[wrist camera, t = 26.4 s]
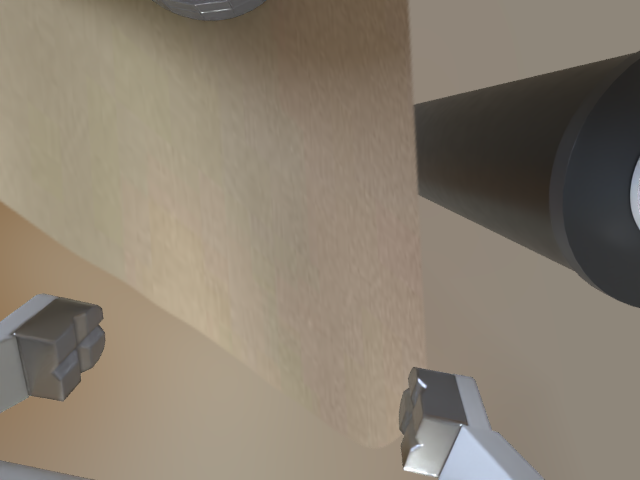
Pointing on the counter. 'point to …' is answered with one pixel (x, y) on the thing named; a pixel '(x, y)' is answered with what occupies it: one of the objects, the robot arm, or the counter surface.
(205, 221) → the counter surface
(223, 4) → the pan
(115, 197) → the counter surface
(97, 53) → the counter surface
